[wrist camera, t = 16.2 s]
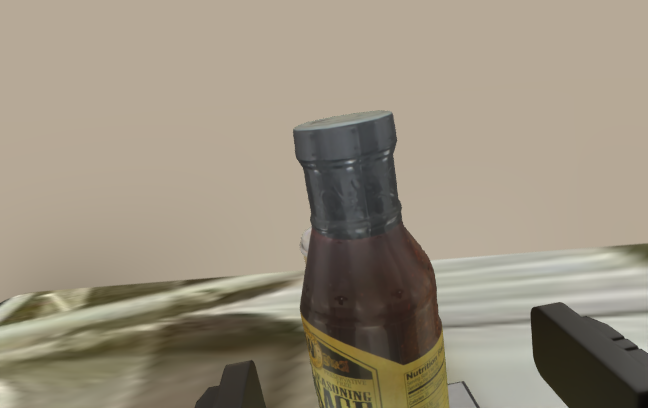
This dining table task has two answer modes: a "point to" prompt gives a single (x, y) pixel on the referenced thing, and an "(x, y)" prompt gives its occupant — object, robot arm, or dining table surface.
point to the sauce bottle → (366, 273)
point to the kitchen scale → (460, 396)
